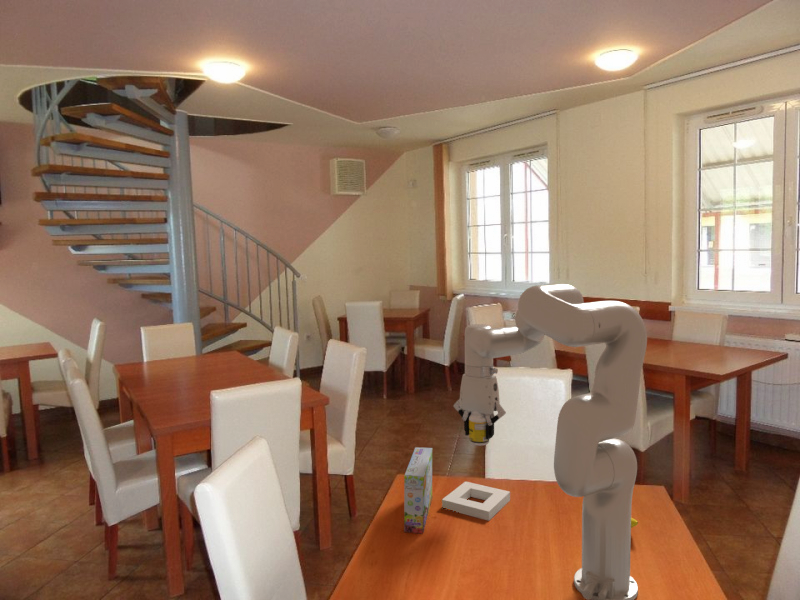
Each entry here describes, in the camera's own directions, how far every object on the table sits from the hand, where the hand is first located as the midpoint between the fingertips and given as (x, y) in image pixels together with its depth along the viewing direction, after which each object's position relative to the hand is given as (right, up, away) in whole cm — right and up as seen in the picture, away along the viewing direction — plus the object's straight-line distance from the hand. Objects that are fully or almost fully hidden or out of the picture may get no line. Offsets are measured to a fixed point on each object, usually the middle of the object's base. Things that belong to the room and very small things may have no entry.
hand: (479, 435), depth 157 cm
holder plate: (0, -20, +3) cm, 20 cm away
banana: (+35, -21, -9) cm, 41 cm away
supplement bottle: (0, -2, 0) cm, 2 cm away
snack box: (-16, -21, -1) cm, 27 cm away
